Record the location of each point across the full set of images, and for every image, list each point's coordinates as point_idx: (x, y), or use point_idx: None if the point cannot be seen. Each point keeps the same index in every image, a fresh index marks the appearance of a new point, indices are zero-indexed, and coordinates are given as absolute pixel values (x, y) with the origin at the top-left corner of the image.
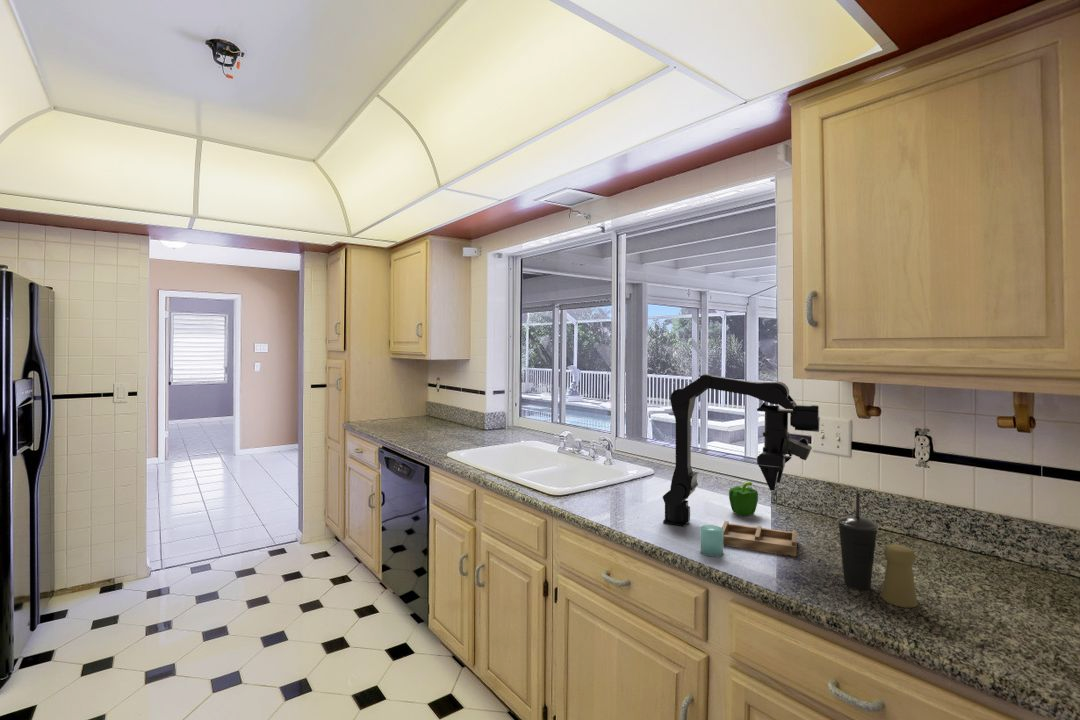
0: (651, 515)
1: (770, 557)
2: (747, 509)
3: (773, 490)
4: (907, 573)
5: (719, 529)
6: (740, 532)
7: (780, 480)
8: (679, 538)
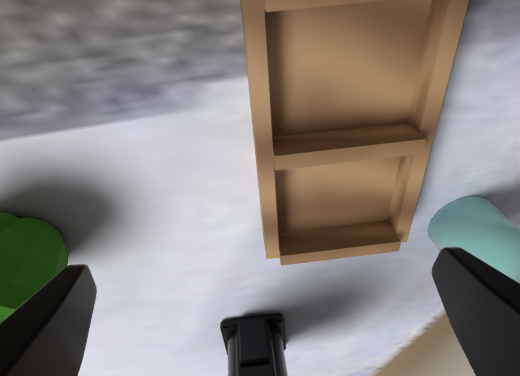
0: None
1: (474, 66)
2: (44, 242)
3: (452, 249)
4: None
5: (514, 260)
6: (281, 201)
7: (72, 280)
8: (378, 296)
